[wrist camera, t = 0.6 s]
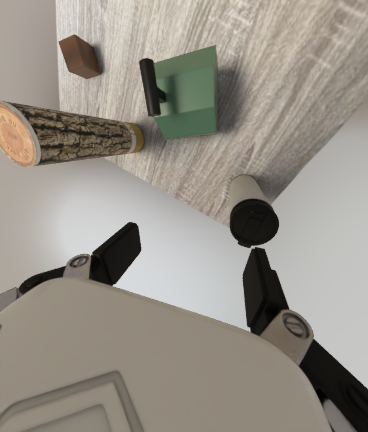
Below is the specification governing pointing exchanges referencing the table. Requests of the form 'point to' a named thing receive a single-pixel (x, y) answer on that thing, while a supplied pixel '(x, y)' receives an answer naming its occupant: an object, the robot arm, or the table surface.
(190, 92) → the green octagonal container
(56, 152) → the paper tube
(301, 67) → the table surface
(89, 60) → the block
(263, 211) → the travel mug
